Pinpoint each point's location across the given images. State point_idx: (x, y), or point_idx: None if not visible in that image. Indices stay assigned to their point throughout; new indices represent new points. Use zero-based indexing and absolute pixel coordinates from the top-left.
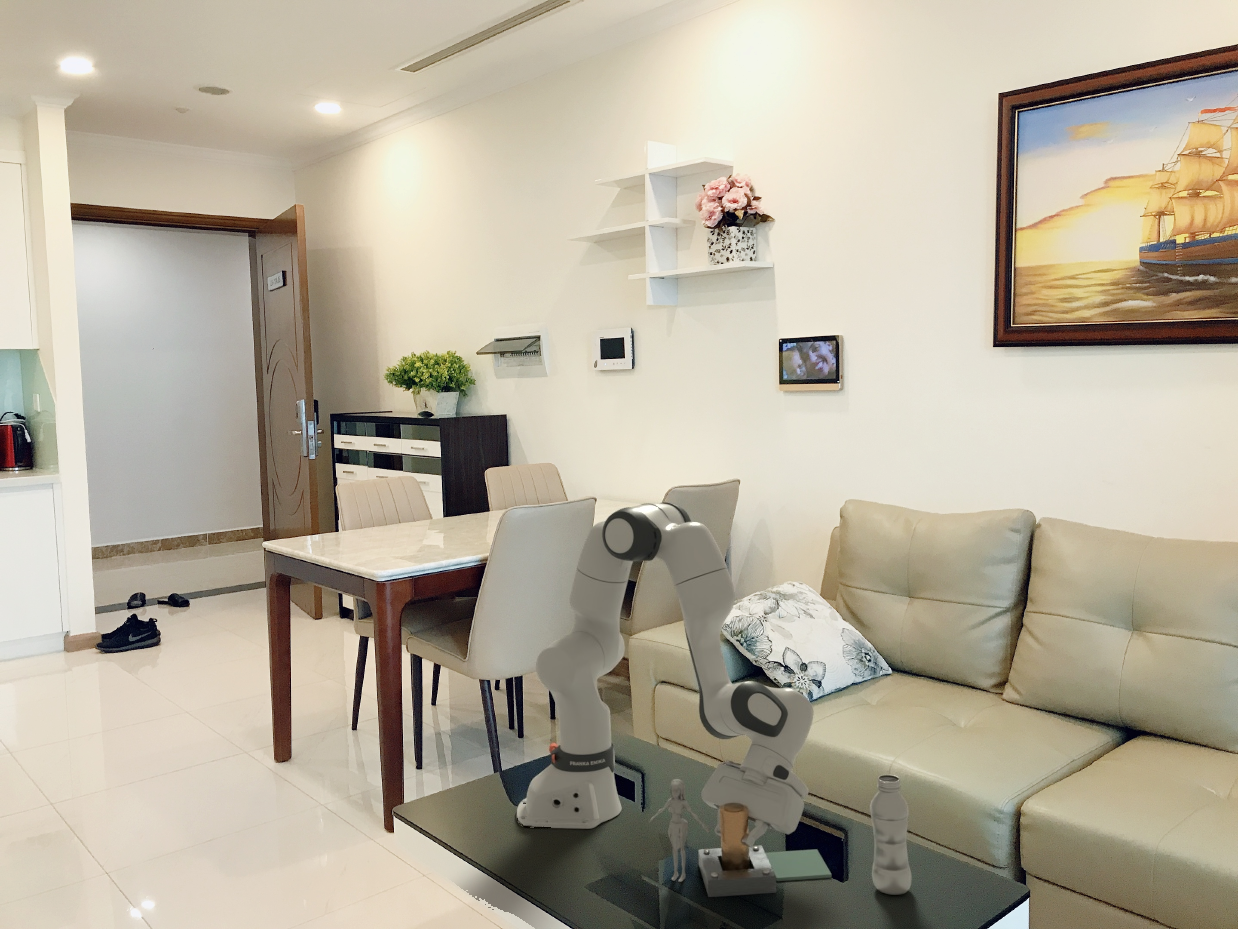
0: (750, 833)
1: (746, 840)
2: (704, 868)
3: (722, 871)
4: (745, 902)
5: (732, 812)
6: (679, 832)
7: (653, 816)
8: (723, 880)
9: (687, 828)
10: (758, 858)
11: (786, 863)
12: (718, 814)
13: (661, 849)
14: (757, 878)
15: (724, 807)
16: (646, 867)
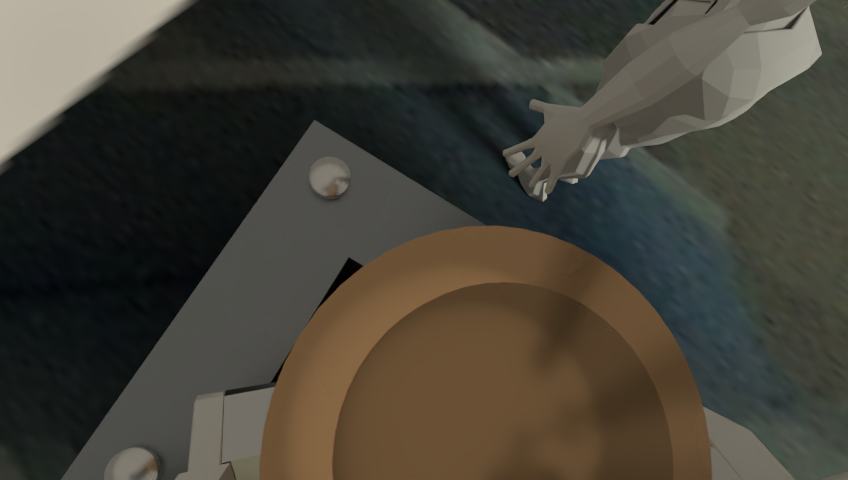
0: (206, 475)
1: (220, 403)
2: (438, 198)
3: (344, 252)
4: (146, 261)
5: (387, 324)
6: (654, 24)
7: None
8: (264, 194)
9: (676, 104)
10: None
11: None
12: (709, 420)
13: (806, 286)
14: (135, 377)
15: (576, 308)
16: (696, 131)
